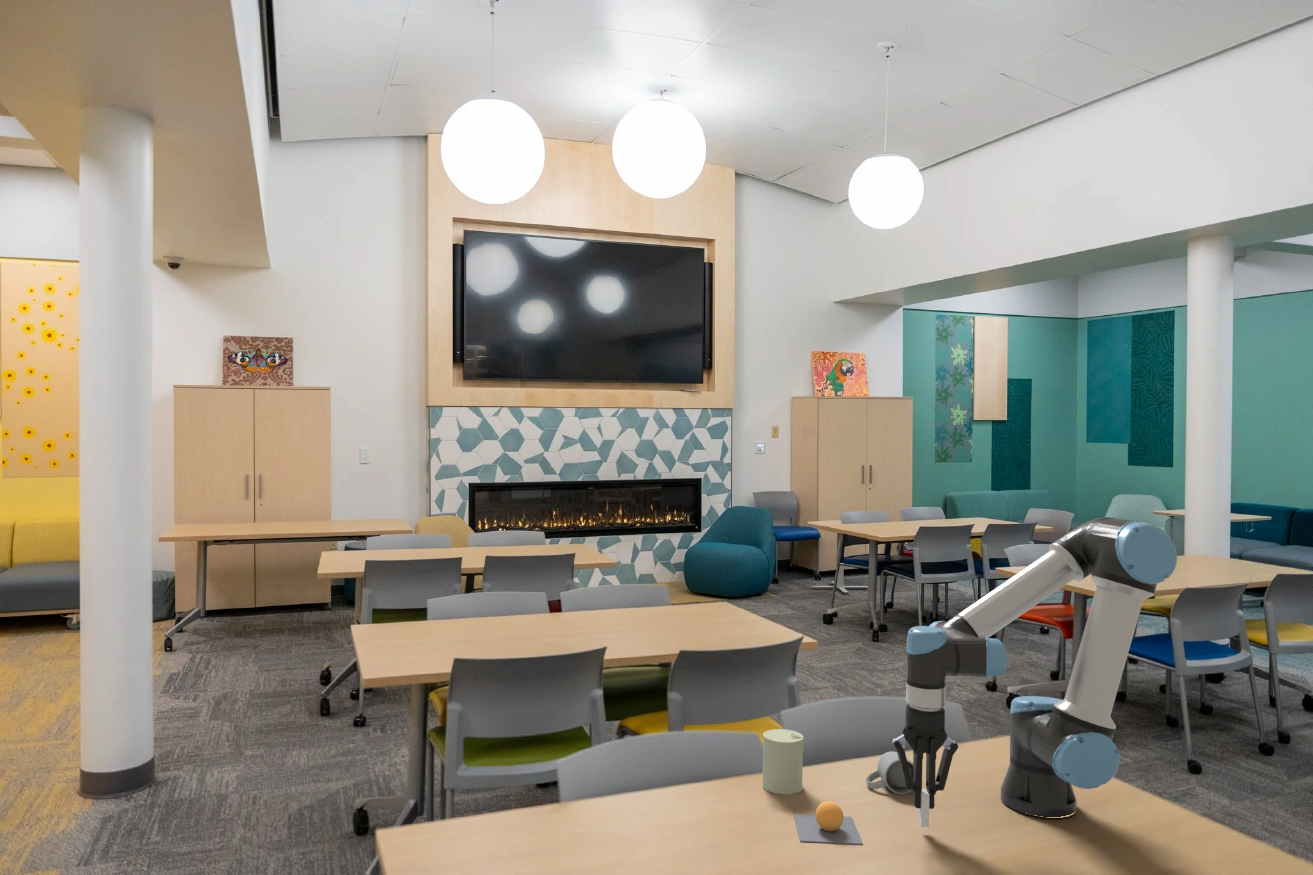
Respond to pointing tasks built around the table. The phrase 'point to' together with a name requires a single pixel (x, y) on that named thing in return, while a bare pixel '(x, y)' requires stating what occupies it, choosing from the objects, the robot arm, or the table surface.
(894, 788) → the ceramic mug
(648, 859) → the table surface
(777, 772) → the can
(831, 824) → the ball
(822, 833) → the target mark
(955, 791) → the table surface
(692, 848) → the table surface
